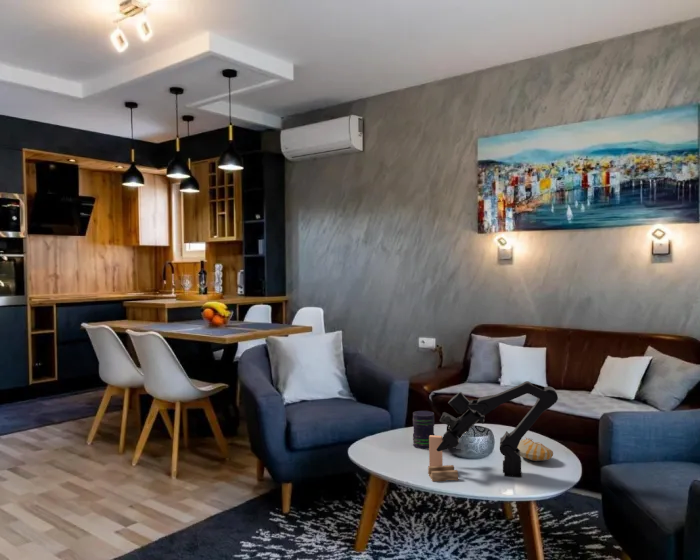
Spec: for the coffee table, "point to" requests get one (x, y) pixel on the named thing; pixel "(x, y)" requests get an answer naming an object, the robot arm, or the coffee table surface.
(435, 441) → the peach rectangular block
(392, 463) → the coffee table surface
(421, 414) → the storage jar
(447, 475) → the rack
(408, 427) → the coffee table surface
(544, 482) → the coffee table surface
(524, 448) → the nautilus
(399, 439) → the coffee table surface
